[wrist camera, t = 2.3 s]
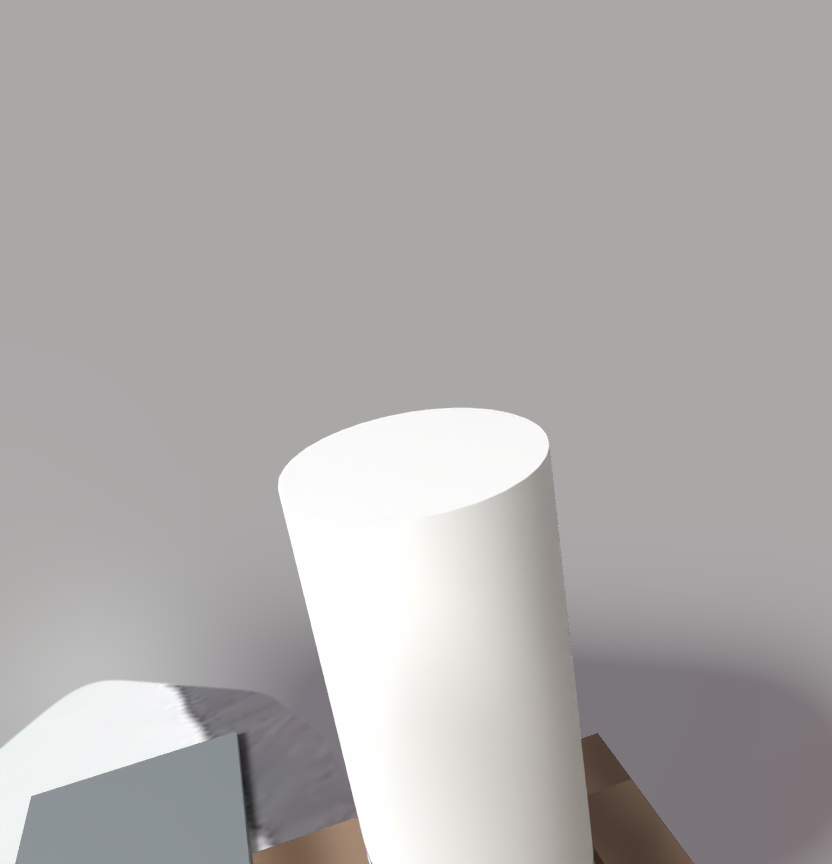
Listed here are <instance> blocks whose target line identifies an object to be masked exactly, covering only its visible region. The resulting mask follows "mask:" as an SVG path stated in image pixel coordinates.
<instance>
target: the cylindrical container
mask: <svg viewBox="0 0 832 864" xmlns="http://www.w3.org/2000/svg"><path fill="white" fill-rule="evenodd" d="M278 491H279V495H280V499H281V503H282V507H283V512H284V516H285V520H286V524H287V528H288V532H289V536H290V540H291V544H292V548H293V552H294V556H295V560H296V564H297V568H298V573H299V577H300V580H301V585H302V589H303V593H304V597H305V601H306V605H307V609H308V613H309V617H310V621H311V626H312V629H313V634H314V638H315V641H316V646H317V650H318V654H319V658H320V662H321V666H322V670H323V674H324V678H325V682H326V687H327V690H328V694H329V699H330V703H331V707H332V711H333V715H334V720H335V724H336V728H337V732H338V736H339V740H340V744H341V748H342V753H343V757H344V761H345V765H346V769H347V773H348V777H349V781H350V786H351V790H352V794H353V798H354V802H355V806H356V810H357V814H358V819H359V823H360V827H361V831H362V835H363V839H364V843H365V846H366V852H367V856H368V860H369V864H594V856H593V846H592V836H591V826H590V817H589V807H588V798H587V789H586V780H585V770H584V761H583V752H582V743H581V734H580V724H579V715H578V706H577V696H576V688H575V678H574V669H573V659H572V650H571V641H570V632H569V622H568V614H567V604H566V595H565V586H564V576H563V567H562V558H561V549H560V539H559V530H558V521H557V512H556V502H555V494H554V484H553V475H552V466H551V456H550V447H549V442H548V438H547V435H546V434H545V432H544V431H543V430H542V429H541V428H540V427H539V426H538V425H536V424H535V423H533V422H531V421H530V420H528V419H526V418H523V417H520V416H517V415H514V414H512V413H507V412H501V411H496V410H490V409H477V408H443V409H430V410H422V411H414V412H408V413H403V414H397V415H392V416H387V417H383V418H379V419H376V420H372V421H368V422H364V423H361V424H358V425H355V426H353V427H350V428H347V429H344V430H341V431H339V432H337V433H335V434H332V435H330V436H328V437H326V438H324V439H321V440H320V441H318V442H316V443H314V444H313V445H311V446H309V447H307V448H306V449H305V450H303V451H302V452H301V453H299V454H298V455H297V456H295V457H294V458H293V459H292V460H291V461H290V462H289V463H288V464H287V466H285V468H284V469H283V471H282V474H281V475H280V477H279V482H278Z"/></svg>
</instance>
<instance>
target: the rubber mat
mask: <svg viewBox="0 0 832 864" xmlns="http://www.w3.org/2000/svg"><path fill="white" fill-rule="evenodd" d="M15 864H251V855H250V845H249V836H248V826H247V816H246V806H245V796H244V786H243V776H242V766H241V756H240V746H239V738H238V735H237V731H236V732H233V733H230V734H227V735H224V736H220V737H217V738H214V739H211V740H208V741H205V742H202V743H198V744H195V745H192V746H189V747H186V748H183V749H179V750H176V751H173V752H170V753H167V754H164V755H160V756H157V757H154V758H151V759H148V760H145V761H142V762H138V763H135V764H132V765H129V766H126V767H123V768H119V769H116V770H113V771H110V772H107V773H104V774H100V775H97V776H94V777H91V778H88V779H85V780H82V781H78V782H75V783H72V784H69V785H66V786H63V787H59V788H56V789H53V790H50V791H47V792H44V793H40V794H37V795H34V796H31V800H30V804H29V808H28V813H27V817H26V821H25V825H24V829H23V834H22V838H21V842H20V846H19V850H18V854H17V859H16V863H15Z"/></svg>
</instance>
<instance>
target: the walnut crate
mask: <svg viewBox="0 0 832 864" xmlns="http://www.w3.org/2000/svg"><path fill="white" fill-rule="evenodd" d="M581 743H582V752H583V761H584V770H585V780H586V789H587V798H588V807H589V817H590V826H591V836H592V846H593V856H594V864H694V863H693V862H692V861H691V859H690V858H689V856H688V855H687V854H686V852H685V851H684V850H683V848H682V847H681V846H680V844H679V843H678V841H677V840H676V839H675V837H674V836H673V835H672V833H671V832H670V831H669V829H668V828H667V827H666V825H665V824H664V823H663V821H662V820H661V818H660V817H659V816H658V814H657V813H656V812H655V810H654V809H653V808H652V806H651V805H650V804H649V802H648V801H647V800H646V798H645V797H644V795H643V794H642V793H641V791H640V790H639V789H638V787H637V786H636V785H635V783H634V782H633V781H632V779H631V778H630V777H629V775H628V774H627V772H626V771H625V770H624V768H623V767H622V766H621V764H620V763H619V761H618V760H617V759H616V757H615V756H614V755H613V753H612V752H611V751H610V749H609V748H608V747H607V745H606V744H605V743H604V741H603V740H602V738H601V737H600V736H599V735H598V733H597V734H594V735H591V736H588V737H586V738H583V739H581ZM252 856H253V864H369V860H368V856H367V852H366V846H365V843H364V839H363V835H362V831H361V827H360V823H359V819H358V817H356V818H353V819H350V820H348V821H345V822H342V823H339V824H336V825H333V826H330V827H328V828H325V829H322V830H319V831H316V832H313V833H310V834H307V835H305V836H302V837H299V838H296V839H293V840H290V841H287V842H285V843H282V844H279V845H276V846H273V847H270V848H267V849H265V850H262V851H259V852H256V853H253V854H252Z"/></svg>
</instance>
